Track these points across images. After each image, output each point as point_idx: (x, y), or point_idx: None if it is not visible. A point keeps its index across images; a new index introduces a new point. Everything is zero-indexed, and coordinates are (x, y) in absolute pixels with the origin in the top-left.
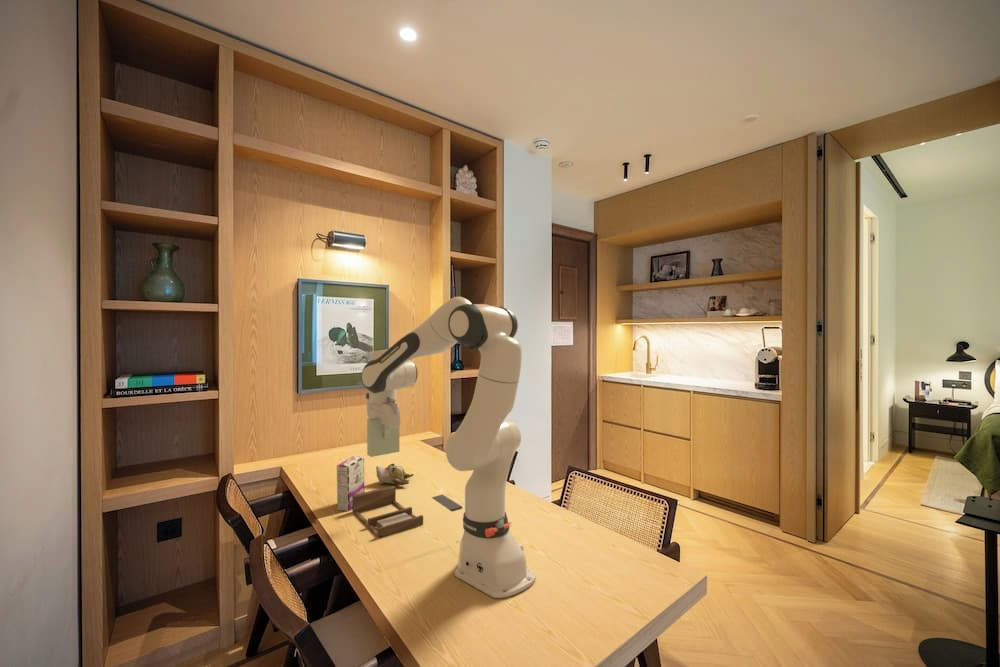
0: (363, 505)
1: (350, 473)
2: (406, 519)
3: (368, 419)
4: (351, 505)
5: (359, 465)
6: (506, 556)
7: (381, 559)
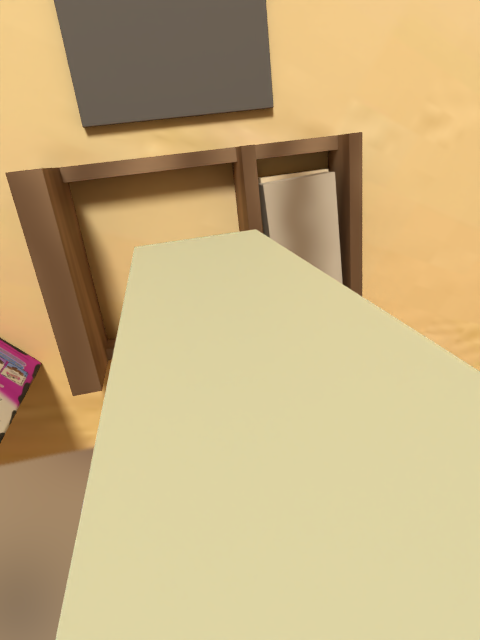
0: (97, 331)
1: None
2: (330, 203)
3: None
4: (21, 360)
5: None
6: None
7: (432, 319)
